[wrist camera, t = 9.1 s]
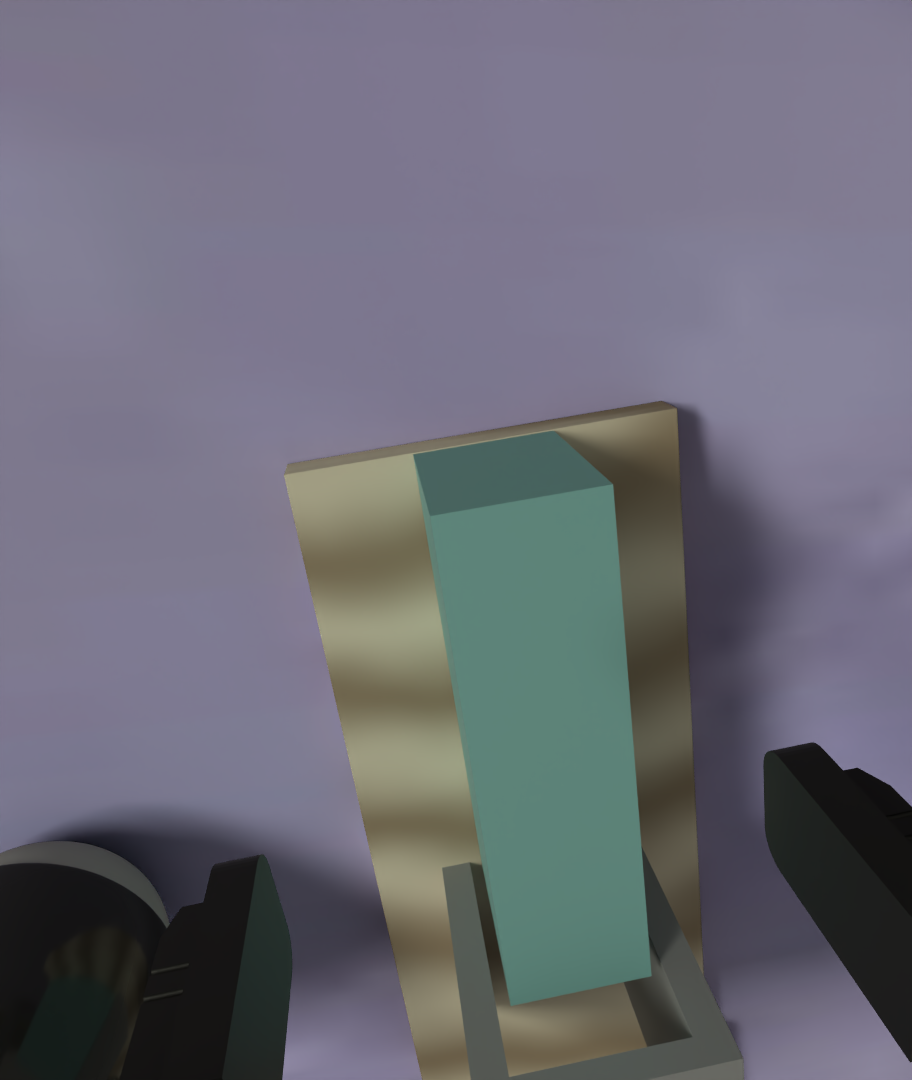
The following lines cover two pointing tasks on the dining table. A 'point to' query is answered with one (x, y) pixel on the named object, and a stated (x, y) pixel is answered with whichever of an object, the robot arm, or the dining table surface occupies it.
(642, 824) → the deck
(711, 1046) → the tunnel
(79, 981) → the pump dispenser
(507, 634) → the teal pillar
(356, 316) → the dining table surface
